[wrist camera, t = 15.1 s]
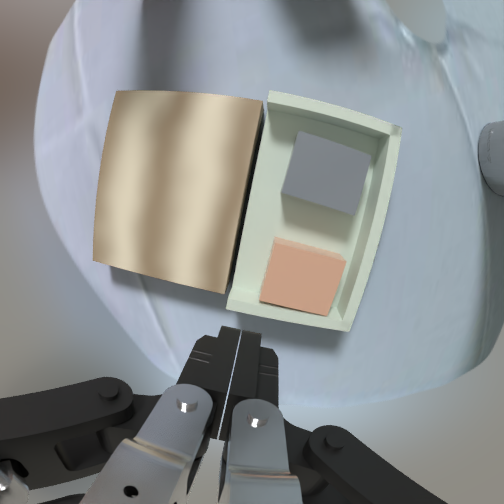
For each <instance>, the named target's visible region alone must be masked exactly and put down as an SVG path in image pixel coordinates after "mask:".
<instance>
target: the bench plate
mask: <svg viewBox="0 0 504 504" xmlns="http://www.w3.org/2000/svg"><path fill="white" fill-rule="evenodd" d="M263 111H264V108H263V101H259V100H253V99H247V98H240V97H233V96H225V95H216V94H206V93H195V92H180V91H151V90H133V91H116V94H115V98H114V102H113V106H112V110H111V114H110V118H109V123H108V127H107V132H106V137H105V142H104V148H103V153H102V160H101V166H100V173H99V180H98V188H97V197H96V208H95V220H94V237H93V261H96V262H100V263H103V264H107V265H110V266H114V267H117V268H121V269H124V270H128V271H132V272H136V273H139V274H143V275H147V276H151V277H155V278H159V279H163V280H166V281H170V282H174V283H179V284H183V285H187V286H191V287H195V288H199V289H204V290H208V291H212V292H217V293H221V294H225V292H226V289H227V287H228V284H229V281H230V276H231V270H232V265H233V260H234V254H235V249H236V244H237V239H238V234H239V228H240V223H241V218H242V213H243V208H244V203H245V198H246V193H247V188H248V183H249V178H250V173H251V168H252V163H253V158H254V153H255V149H256V144H257V139H258V134H259V129H260V125H261V120H262V115H263Z"/></svg>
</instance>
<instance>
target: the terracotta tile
mask: <svg viewBox="0 0 504 504" xmlns="http://www.w3.org/2000/svg"><path fill="white" fill-rule="evenodd" d="M346 262H347V261H346V260H345V259H344V258H343V257H342V256H341V255H340V254H339V253H335V252H332V251H328V250H324V249H321V248H317V247H313V246H309V245H306V244H302V243H298V242H294V241H290V240H287V239H283V238H279V237H275V236H274V240H273V244H272V248H271V251H270V255H269V259H268V262H267V266H266V270H265V273H264V277H263V281H262V284H261V288H260V295H259V300H260V301H264V302H268V303H272V304H276V305H280V306H285V307H289V308H293V309H298V310H302V311H306V312H311V313H315V314H320V315H324V316H327V315H328V312H329V310H330V307H331V304H332V302H333V299H334V296H335V294H336V291H337V288H338V285H339V282H340V280H341V277H342V274H343V271H344V268H345V265H346Z"/></svg>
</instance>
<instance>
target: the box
mask: <svg viewBox="0 0 504 504" xmlns="http://www.w3.org/2000/svg"><path fill="white" fill-rule="evenodd" d="M267 108H268V110H267V115H266V120H265V125H264V129H263V134H262V139H261V144H260V148H259V153H258V158H257V163H256V168H255V173H254V178H253V183H252V188H251V192H250V197H249V202H248V207H247V212H246V218H245V223H244V228H243V233H242V238H241V243H240V248H239V253H238V258H237V264H236V269H235V274H234V279H233V285H232V289H231V291H230V294H229V297H228V300H227V306H226V309H228V310H232V311H237V312H242V313H246V314H251V315H256V316H261V317H266V318H271V319H276V320H281V321H287V322H292V323H298V324H303V325H309V326H315V327H321V328H327V329H334V330H340V331H347V332H349V331H350V328H351V325H352V323H353V320H354V318H355V315H356V312H357V309H358V307H359V304H360V301H361V298H362V295H363V292H364V289H365V286H366V283H367V280H368V277H369V274H370V271H371V267H372V264H373V261H374V257H375V254H376V250H377V247H378V243H379V240H380V236H381V232H382V228H383V224H384V220H385V216H386V212H387V208H388V204H389V199H390V195H391V190H392V185H393V180H394V175H395V170H396V164H397V159H398V153H399V147H400V140H401V133H402V128H401V127H399V126H396V125H393V124H391V123H388V122H386V121H383V120H380V119H377V118H374V117H371V116H369V115H366V114H363V113H359V112H356V111H353V110H350V109H347V108H343V107H340V106H336V105H333V104H329V103H325V102H322V101H318V100H314V99H310V98H305V97H301V96H296V95H292V94H287V93H282V92H277V91H271V90H269V95H268V100H267ZM298 131H302V132H306V133H309V134H312V135H315V136H318V137H321V138H324V139H327V140H330V141H333V142H336V143H339V144H342V145H344V146H347V147H350V148H353V149H355V150H358V151H360V152H363V153H366V154H368V155H371V156H372V157H371V161H370V165H369V168H368V172H367V176H366V179H365V183H364V186H363V190H362V193H361V197H360V200H359V204H358V207H357V210H356V213H355V216H353V215H351V214H348V213H345V212H342V211H339V210H336V209H333V208H330V207H326V206H323V205H320V204H317V203H314V202H311V201H307V200H304V199H301V198H298V197H294V196H291V195H288V194H284V193H281V192H280V191H281V188H282V184H283V181H284V177H285V174H286V170H287V166H288V163H289V159H290V156H291V152H292V149H293V145H294V142H295V138H296V135H297V133H298ZM274 236H275V237H279V238H283V239H287V240H290V241H294V242H298V243H302V244H306V245H309V246H313V247H317V248H321V249H324V250H328V251H332V252H335V253H339V254H340V255H341V256H342V257H343V258H344V259H345V260H346V261H347V262H346V265H345V268H344V271H343V274H342V277H341V280H340V282H339V285H338V288H337V291H336V294H335V296H334V299H333V302H332V304H331V307H330V310H329V312H328V315H327V316H324V315H320V314H315V313H311V312H306V311H302V310H298V309H293V308H289V307H285V306H280V305H276V304H272V303H268V302H264V301H260V300H259V295H260V288H261V284H262V281H263V277H264V273H265V270H266V266H267V262H268V259H269V255H270V251H271V248H272V244H273V240H274Z"/></svg>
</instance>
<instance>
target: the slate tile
mask: <svg viewBox="0 0 504 504" xmlns="http://www.w3.org/2000/svg"><path fill="white" fill-rule="evenodd" d="M371 157H372V156H371V155H368V154H366V153H363V152H360V151H358V150H355V149H353V148H350V147H347V146H344V145H342V144H339V143H336V142H333V141H330V140H327V139H324V138H321V137H318V136H315V135H312V134H309V133H306V132H302V131H298V133H297V135H296V138H295V142H294V145H293V149H292V152H291V156H290V159H289V163H288V166H287V170H286V174H285V177H284V181H283V184H282V188H281V191H280V192H281V193H284V194H288V195H291V196H294V197H298V198H301V199H304V200H307V201H311V202H314V203H317V204H320V205H323V206H326V207H330V208H333V209H336V210H339V211H342V212H345V213H348V214H351V215H353V216H355V213H356V210H357V207H358V204H359V200H360V197H361V193H362V190H363V186H364V183H365V179H366V176H367V172H368V168H369V165H370V161H371Z"/></svg>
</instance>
